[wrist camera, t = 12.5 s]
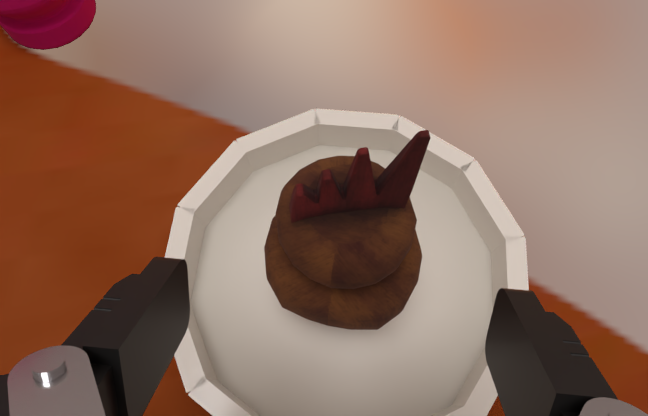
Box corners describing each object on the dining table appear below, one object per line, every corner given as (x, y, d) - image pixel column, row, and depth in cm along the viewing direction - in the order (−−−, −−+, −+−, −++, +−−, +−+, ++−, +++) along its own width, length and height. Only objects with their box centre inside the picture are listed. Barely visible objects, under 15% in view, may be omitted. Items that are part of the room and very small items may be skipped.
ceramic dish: (146, 441, 24) (121, 447, 21) (212, 127, 30) (200, 99, 27) (514, 482, 23) (540, 494, 20) (501, 149, 29) (518, 123, 27)
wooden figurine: (410, 245, 27) (499, 74, 13) (392, 350, 24) (475, 283, 11) (292, 219, 27) (253, 30, 13) (265, 320, 25) (184, 219, 11)
